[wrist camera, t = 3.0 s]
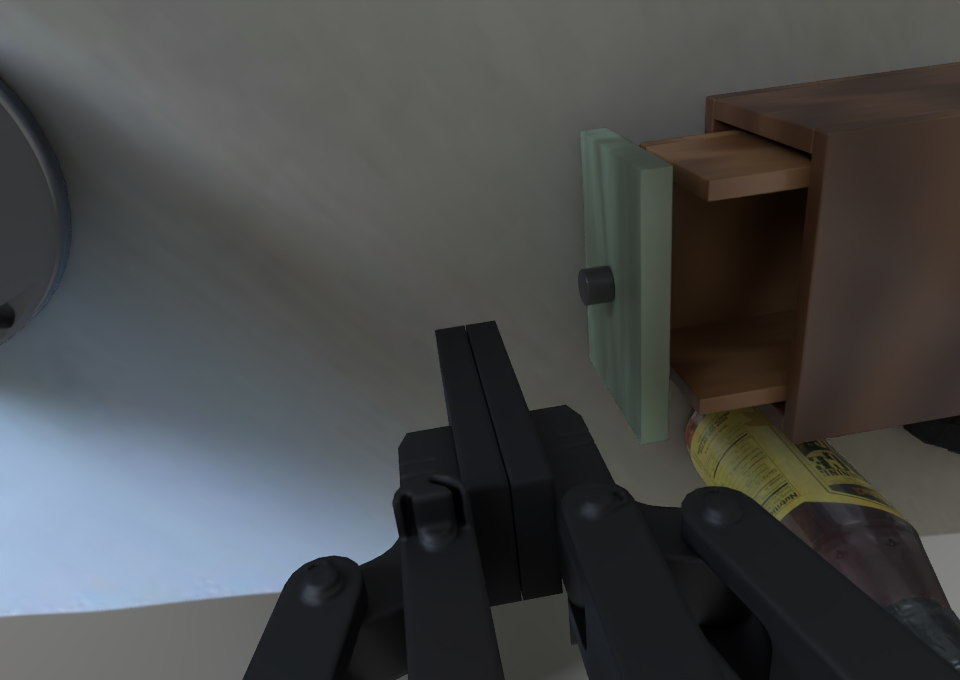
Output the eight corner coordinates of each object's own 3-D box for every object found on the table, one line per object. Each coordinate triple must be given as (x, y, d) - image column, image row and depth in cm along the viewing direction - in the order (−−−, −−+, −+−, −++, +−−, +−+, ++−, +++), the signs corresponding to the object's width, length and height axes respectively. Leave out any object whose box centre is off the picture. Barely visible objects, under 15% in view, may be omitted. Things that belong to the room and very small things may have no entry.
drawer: (566, 362, 36) (613, 450, 29) (553, 134, 31) (606, 174, 24) (837, 318, 38) (944, 393, 31) (868, 91, 32) (1005, 117, 25)
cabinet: (696, 342, 38) (792, 445, 29) (705, 95, 32) (828, 133, 24) (951, 300, 39) (1117, 388, 31) (1004, 55, 33) (1226, 76, 25)
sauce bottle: (799, 423, 42) (1115, 740, 24) (712, 485, 43) (952, 831, 25) (745, 352, 39) (1057, 650, 21) (654, 421, 40) (877, 757, 22)
